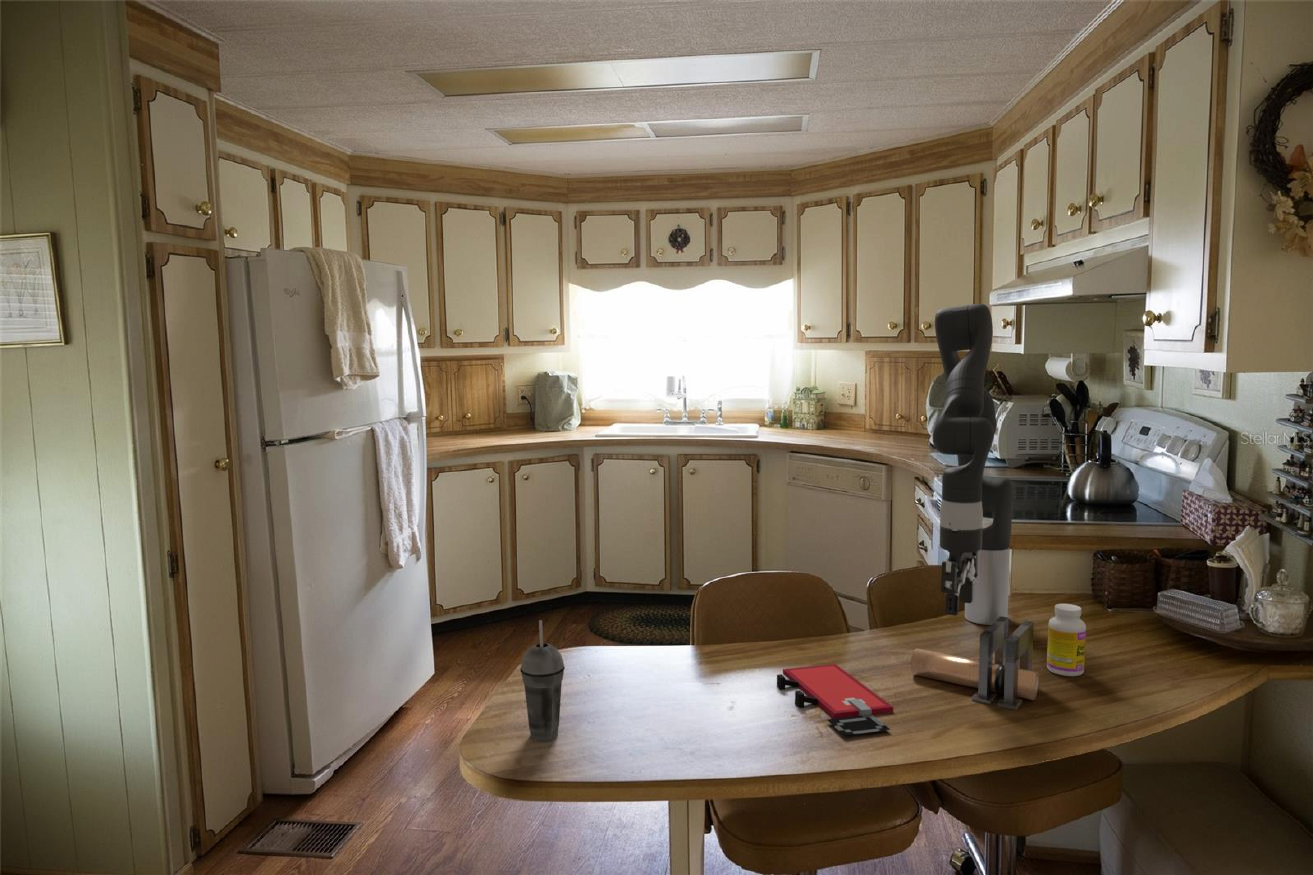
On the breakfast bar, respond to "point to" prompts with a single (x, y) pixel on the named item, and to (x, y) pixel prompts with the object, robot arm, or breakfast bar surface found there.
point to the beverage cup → (543, 688)
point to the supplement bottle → (1066, 641)
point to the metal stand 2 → (1016, 663)
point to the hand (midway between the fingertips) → (959, 608)
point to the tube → (969, 672)
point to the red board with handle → (837, 697)
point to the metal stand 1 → (991, 657)
